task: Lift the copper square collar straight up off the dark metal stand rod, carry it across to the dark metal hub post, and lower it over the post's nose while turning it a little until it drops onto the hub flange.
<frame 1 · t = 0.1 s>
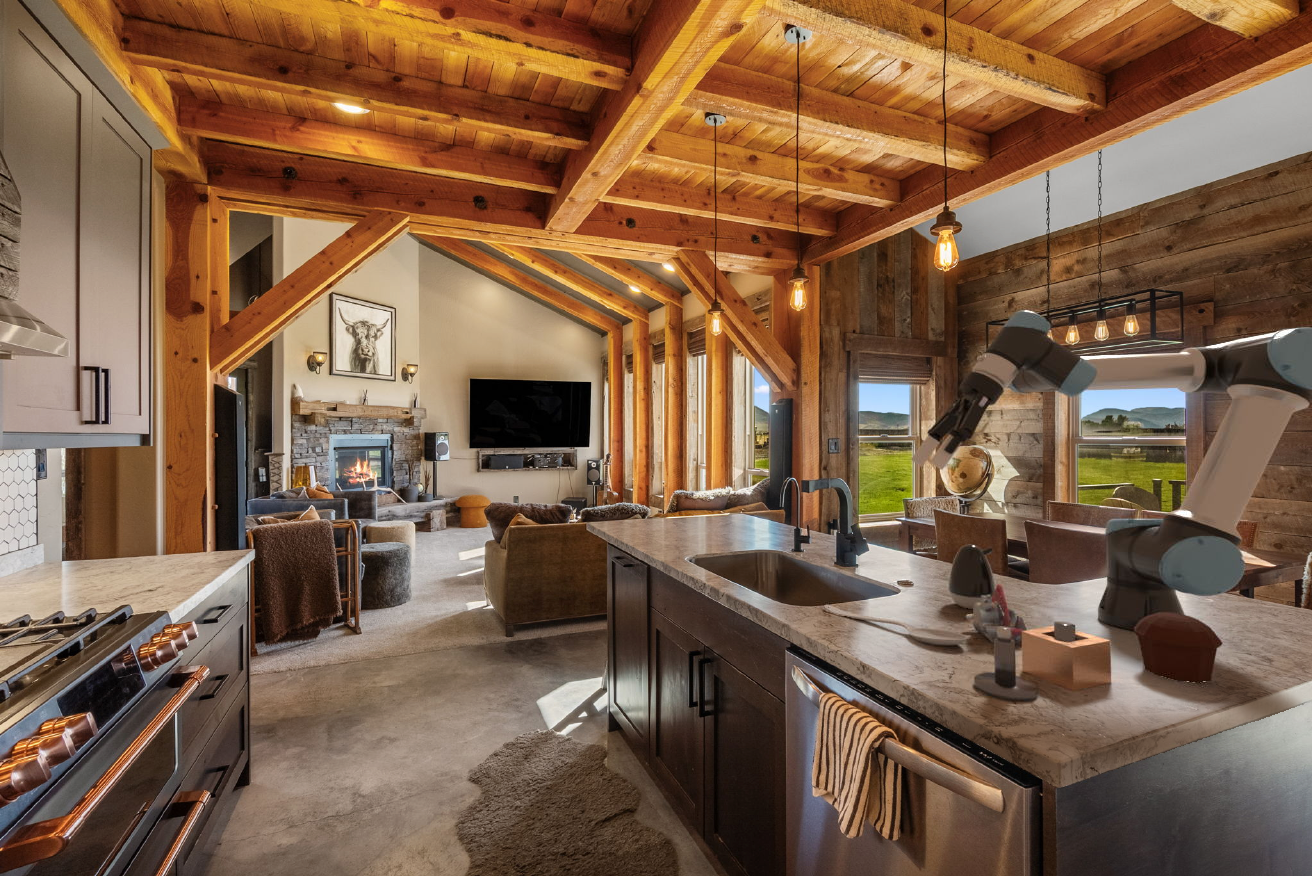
hand: (925, 464, 124), 36 cm above the worktop, tool tilted 35°, fingers open, 13 cm apart
muffin: (1177, 674, 103), on the worktop
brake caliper: (997, 638, 122), on the worktop
hub: (1005, 689, 97), on the worktop
collar: (1065, 676, 102), on the worktop
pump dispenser: (972, 607, 145), on the worktop
stand rod: (1065, 676, 102), on the worktop
spoon: (887, 630, 130), on the worktop
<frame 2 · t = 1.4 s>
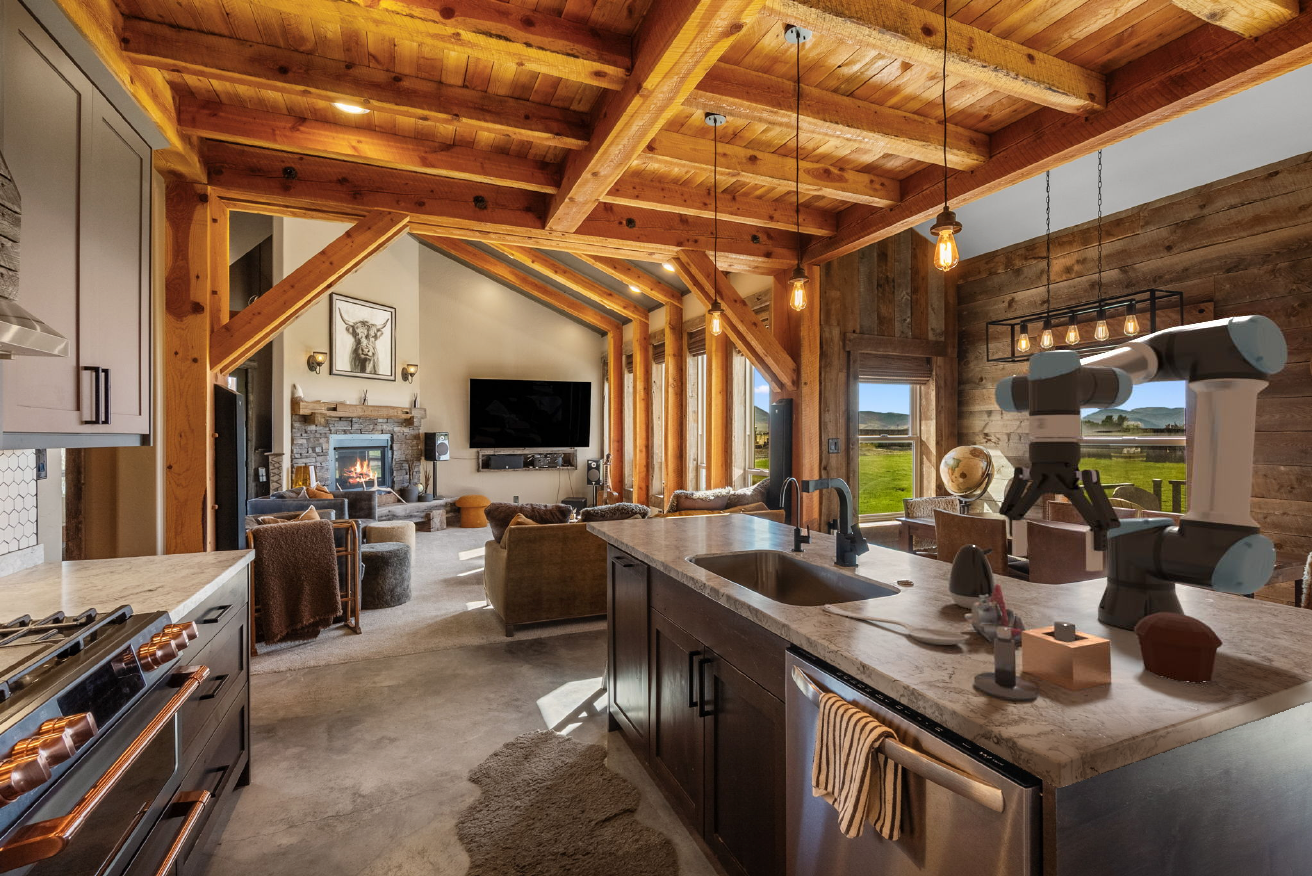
hand: (1054, 562, 103), 19 cm above the worktop, tool pointing down, fingers open, 13 cm apart
nothing on the worktop moved.
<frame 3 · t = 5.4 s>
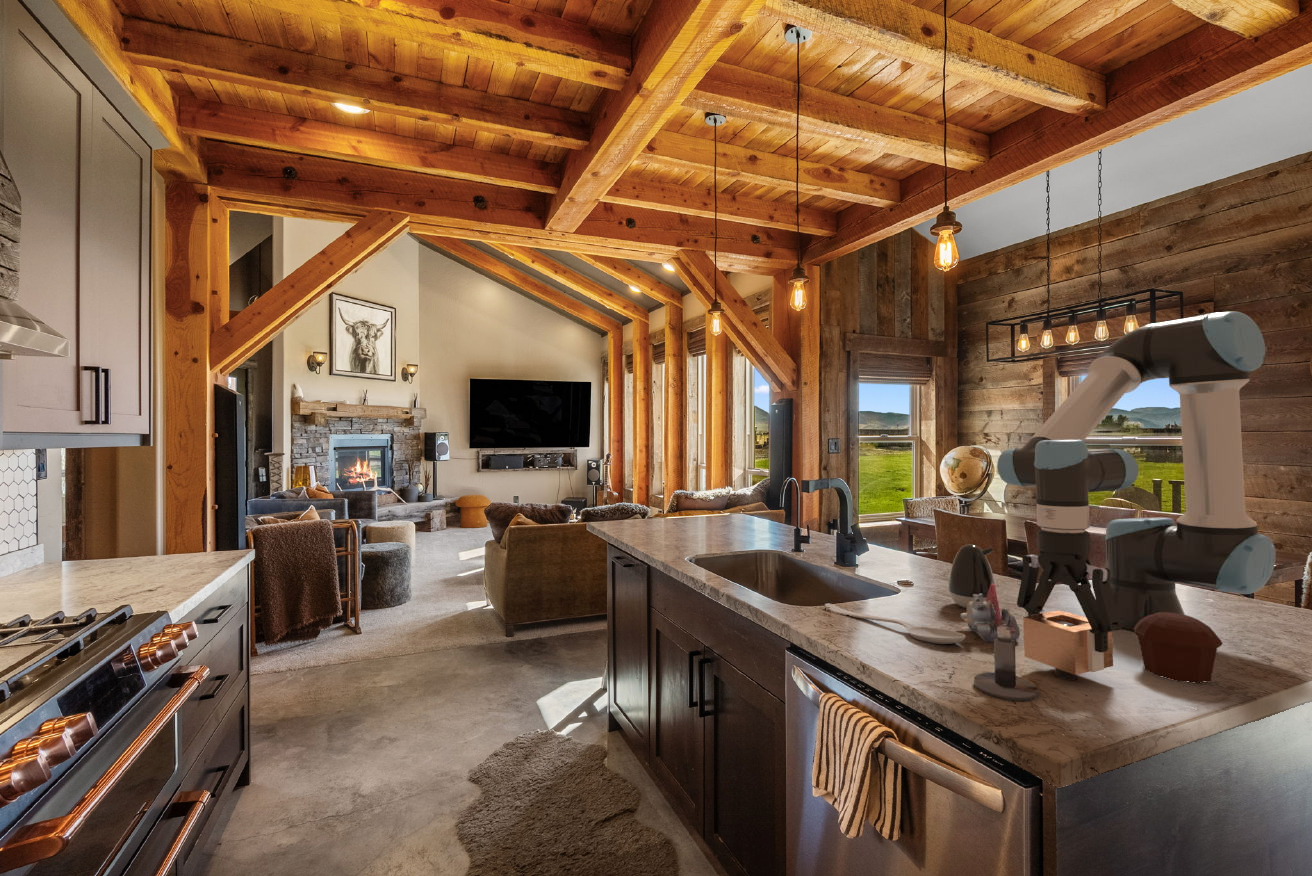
hand: (1066, 659, 102), 3 cm above the worktop, tool pointing down, fingers closed on collar, 9 cm apart
collar: (1067, 661, 102), point 3 cm above the worktop, touching gripper
when the fingers open (2 cm above the worktop, at t = 11.7 s): collar stays where it is, resting on hub.
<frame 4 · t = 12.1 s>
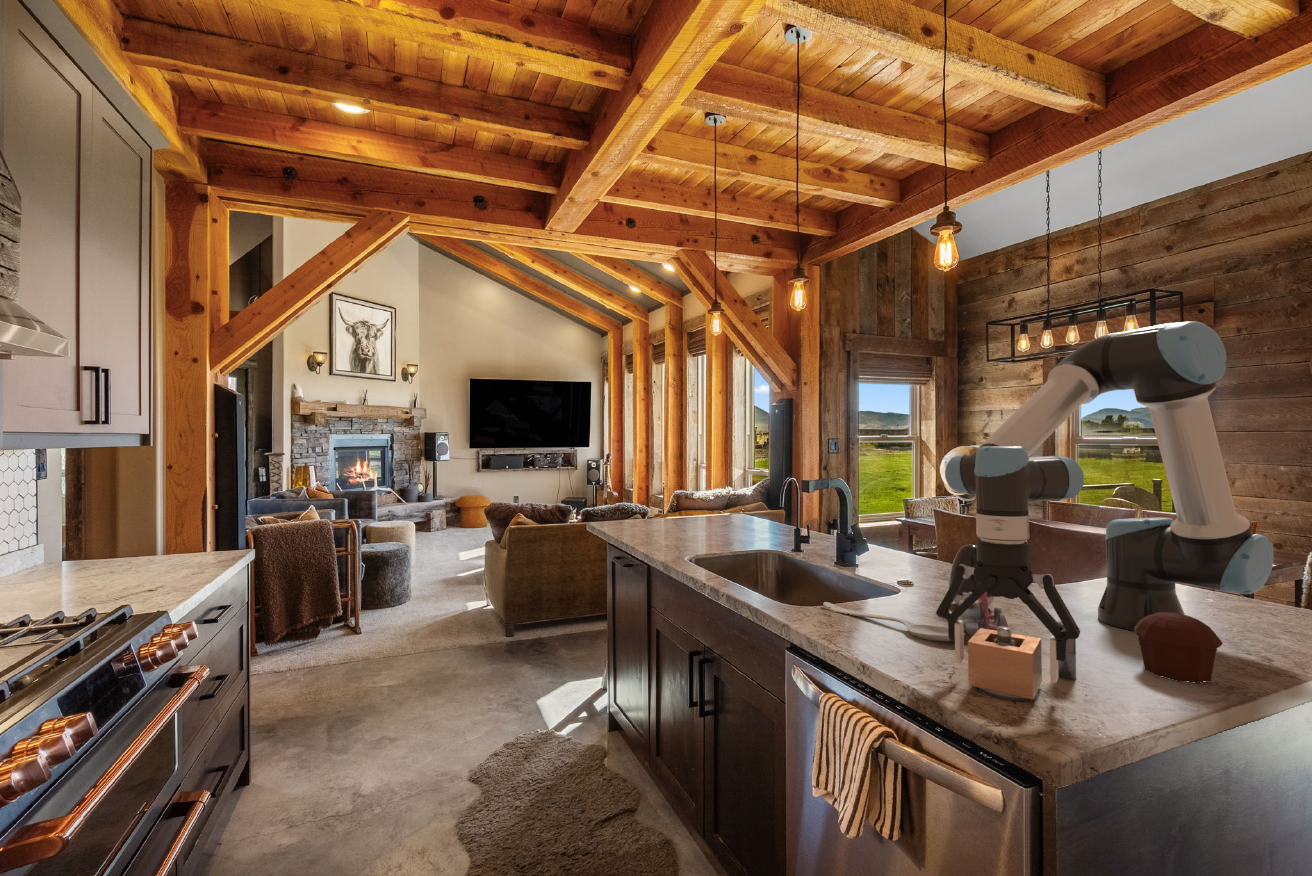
hand: (1005, 669, 97), 3 cm above the worktop, tool pointing down, fingers open, 13 cm apart
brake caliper: (981, 636, 124), on the worktop
collar: (1005, 682, 97), point 1 cm above the worktop, touching hub
spoon: (886, 626, 132), on the worktop
everything else where it was.
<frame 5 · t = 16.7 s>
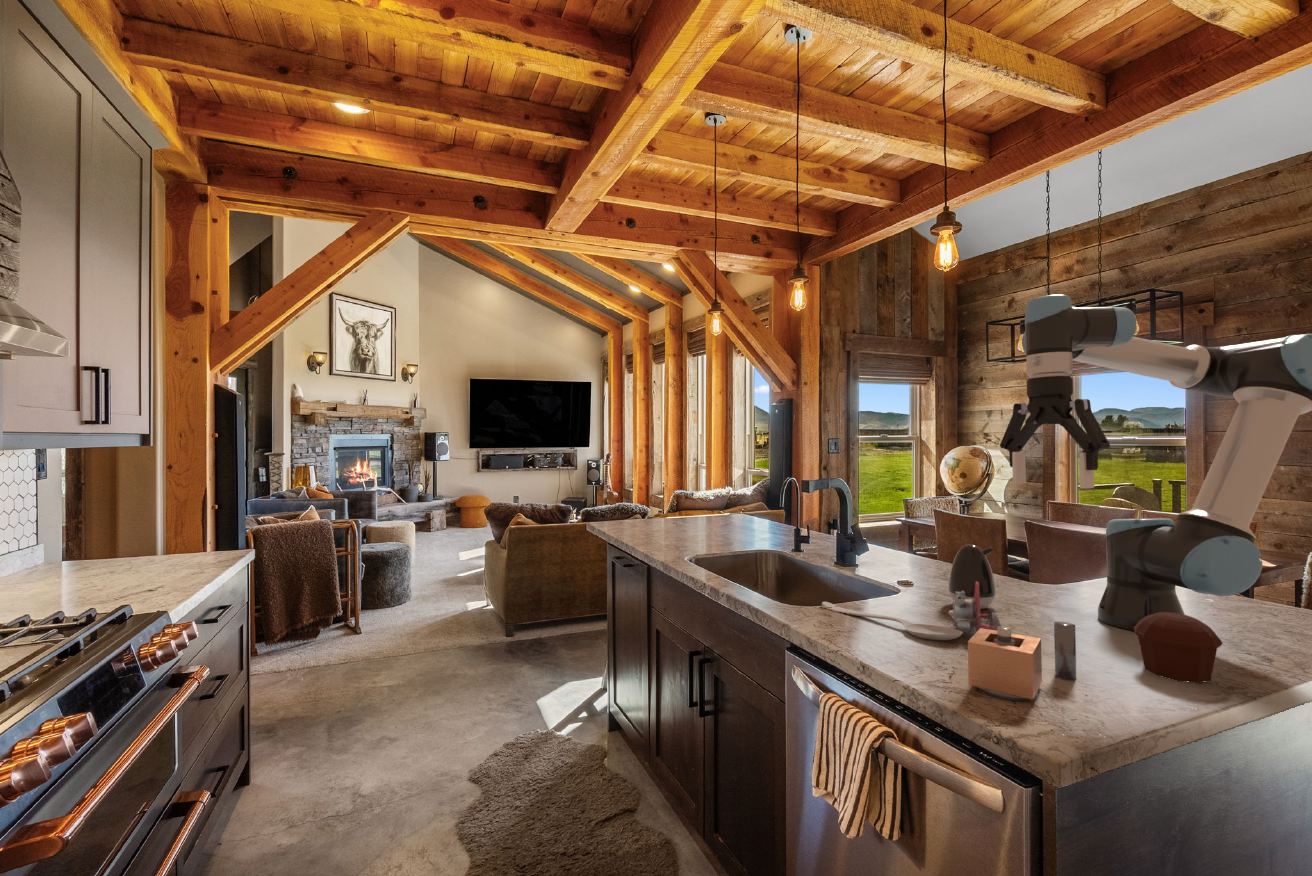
hand: (1051, 485, 115), 32 cm above the worktop, tool pointing down, fingers open, 13 cm apart
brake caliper: (975, 635, 125), on the worktop
at the end: collar 0.2 cm off-centre on the hub, point 1.0 cm above the hub's base; collar tilted 0°; the gripper is holding nothing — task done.
